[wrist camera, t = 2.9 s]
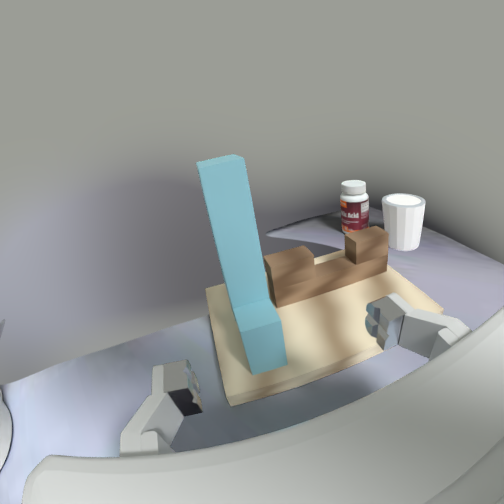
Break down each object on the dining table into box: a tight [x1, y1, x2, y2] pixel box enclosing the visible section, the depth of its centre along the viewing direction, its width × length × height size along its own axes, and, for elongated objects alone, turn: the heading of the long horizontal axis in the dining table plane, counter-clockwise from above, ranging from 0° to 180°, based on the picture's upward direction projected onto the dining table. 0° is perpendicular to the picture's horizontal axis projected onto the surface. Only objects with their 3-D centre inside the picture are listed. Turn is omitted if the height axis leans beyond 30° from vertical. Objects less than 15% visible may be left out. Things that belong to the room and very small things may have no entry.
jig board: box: [205, 226, 444, 406], centre depth 28 cm, size 22×17×6 cm
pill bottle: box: [340, 180, 369, 234], centre depth 44 cm, size 5×5×8 cm
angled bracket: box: [196, 154, 288, 375], centre depth 23 cm, size 3×10×16 cm, turn 13°
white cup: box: [382, 194, 425, 251], centre depth 38 cm, size 7×7×7 cm
